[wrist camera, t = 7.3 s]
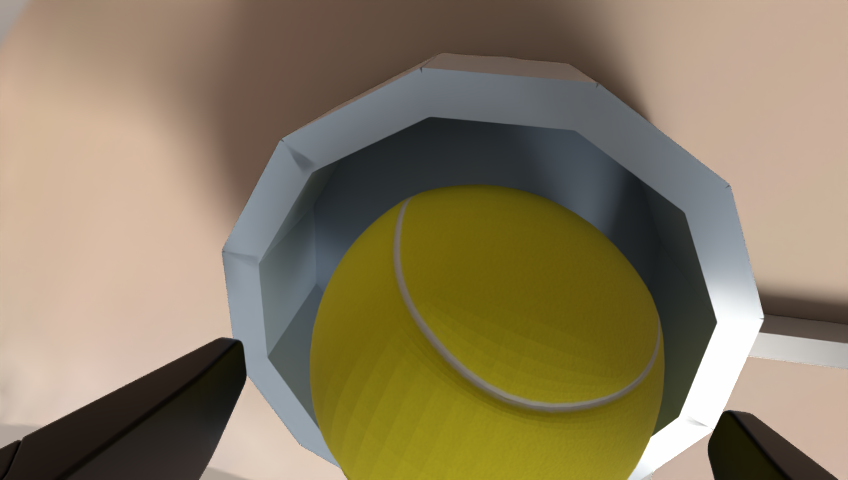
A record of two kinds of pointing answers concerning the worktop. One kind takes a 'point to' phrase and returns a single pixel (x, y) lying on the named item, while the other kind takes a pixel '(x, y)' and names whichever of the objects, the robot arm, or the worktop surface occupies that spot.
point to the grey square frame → (800, 343)
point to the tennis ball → (486, 345)
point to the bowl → (510, 167)
